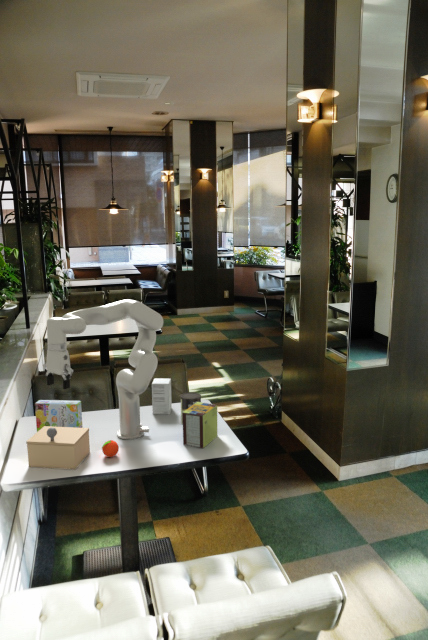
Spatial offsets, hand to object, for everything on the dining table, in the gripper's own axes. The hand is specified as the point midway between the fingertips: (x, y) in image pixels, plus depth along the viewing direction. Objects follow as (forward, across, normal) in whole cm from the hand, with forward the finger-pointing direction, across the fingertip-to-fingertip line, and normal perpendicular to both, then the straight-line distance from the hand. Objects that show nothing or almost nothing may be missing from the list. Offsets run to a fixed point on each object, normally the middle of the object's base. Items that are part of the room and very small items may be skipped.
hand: (58, 386), depth 215 cm
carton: (+31, -4, +4) cm, 31 cm away
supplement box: (+29, -6, -64) cm, 71 cm away
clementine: (+30, -20, -9) cm, 37 cm away
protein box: (+29, -44, -43) cm, 68 cm away
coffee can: (+28, -28, -59) cm, 71 cm away
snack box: (+30, +20, -18) cm, 40 cm away
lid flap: (+20, -4, +4) cm, 21 cm away
